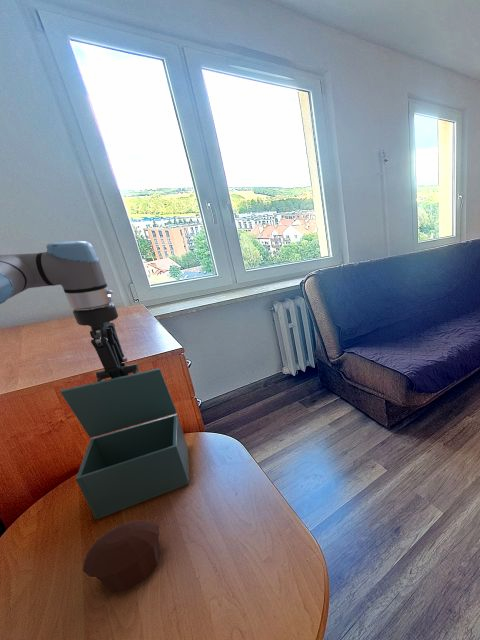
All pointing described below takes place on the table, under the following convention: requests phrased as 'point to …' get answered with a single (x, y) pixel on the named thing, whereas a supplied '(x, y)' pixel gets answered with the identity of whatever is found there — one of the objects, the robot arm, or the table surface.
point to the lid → (120, 400)
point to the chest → (134, 465)
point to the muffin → (124, 555)
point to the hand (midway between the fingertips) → (124, 388)
